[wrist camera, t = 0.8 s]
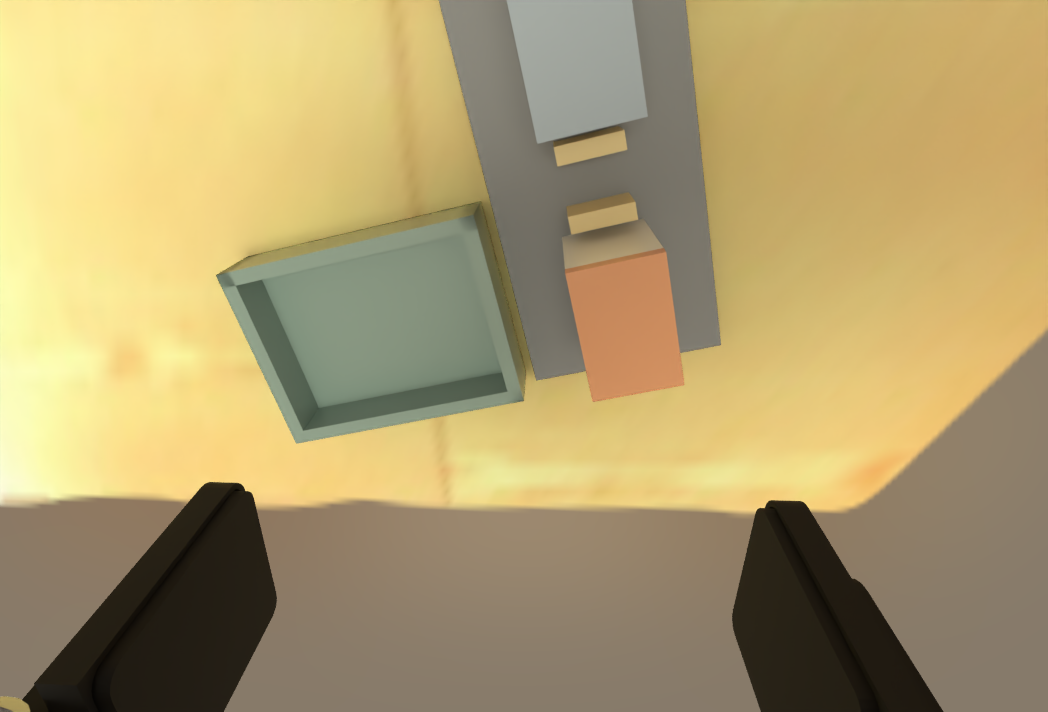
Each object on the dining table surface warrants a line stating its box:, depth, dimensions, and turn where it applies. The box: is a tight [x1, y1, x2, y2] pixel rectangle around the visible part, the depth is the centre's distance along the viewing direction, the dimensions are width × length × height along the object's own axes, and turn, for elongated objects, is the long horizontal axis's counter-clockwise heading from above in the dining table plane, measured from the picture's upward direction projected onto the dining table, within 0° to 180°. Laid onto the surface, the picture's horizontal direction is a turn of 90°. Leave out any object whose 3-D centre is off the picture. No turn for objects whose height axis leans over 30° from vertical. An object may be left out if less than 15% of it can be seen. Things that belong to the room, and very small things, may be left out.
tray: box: [216, 202, 526, 444], centre depth 30 cm, size 13×10×3 cm
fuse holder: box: [439, 0, 721, 380], centre depth 25 cm, size 10×20×7 cm, turn 13°
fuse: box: [562, 219, 684, 402], centre depth 27 cm, size 4×6×6 cm, turn 13°
